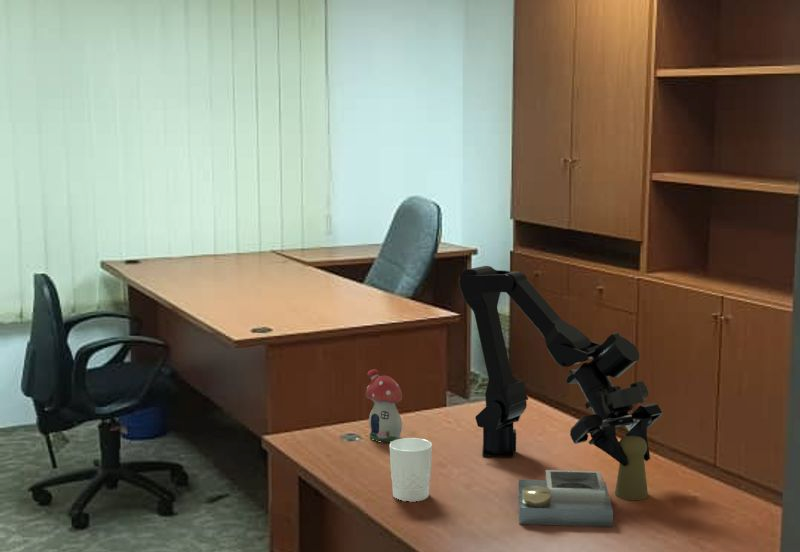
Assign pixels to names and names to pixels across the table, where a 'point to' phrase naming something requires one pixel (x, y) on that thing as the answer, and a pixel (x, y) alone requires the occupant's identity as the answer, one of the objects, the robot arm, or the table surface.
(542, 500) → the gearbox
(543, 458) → the table surface
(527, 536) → the table surface
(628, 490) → the olive knobbed post
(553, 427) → the table surface
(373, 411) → the decorative ornament
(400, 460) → the white cup
